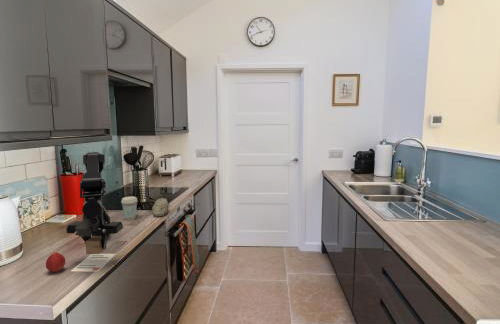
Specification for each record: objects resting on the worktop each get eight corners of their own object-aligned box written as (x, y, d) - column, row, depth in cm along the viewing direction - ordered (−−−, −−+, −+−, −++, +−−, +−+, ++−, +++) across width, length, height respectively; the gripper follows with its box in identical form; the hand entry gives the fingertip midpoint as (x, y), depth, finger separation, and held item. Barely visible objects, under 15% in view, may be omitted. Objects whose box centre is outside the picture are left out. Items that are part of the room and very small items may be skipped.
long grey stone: (169, 203, 195) (154, 204, 193) (169, 195, 195) (154, 197, 192) (168, 216, 162) (150, 218, 159) (168, 207, 161) (150, 209, 159)
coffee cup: (120, 221, 153) (119, 200, 151) (124, 216, 161) (123, 196, 160) (136, 220, 155) (135, 199, 153) (139, 215, 163) (138, 195, 161)
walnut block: (93, 248, 109) (92, 236, 108) (106, 248, 109) (105, 236, 108) (86, 254, 104) (85, 241, 103) (99, 254, 104) (98, 241, 104)
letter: (92, 254, 114) (92, 253, 114) (116, 254, 114) (116, 253, 114) (70, 272, 100) (70, 271, 100) (98, 272, 101) (97, 271, 100)
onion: (46, 278, 96) (44, 256, 95) (46, 271, 101) (44, 250, 100) (66, 273, 100) (64, 252, 99) (65, 266, 104) (64, 246, 103)
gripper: (54, 216, 96) (57, 258, 99) (107, 216, 96) (110, 259, 99) (74, 206, 107) (77, 245, 110) (122, 207, 108) (124, 245, 110)
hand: (96, 248), depth 107 cm, fingers closed on walnut block, 5 cm apart
